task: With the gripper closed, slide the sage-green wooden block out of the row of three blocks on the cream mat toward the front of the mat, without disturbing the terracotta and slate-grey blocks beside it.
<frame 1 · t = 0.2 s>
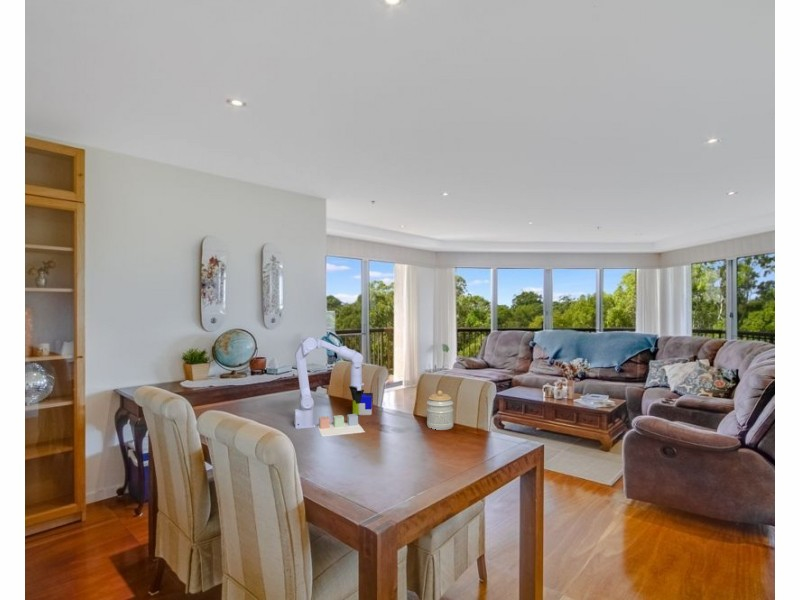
hand: (356, 401, 220), 10 cm above the table, tool pointing down, fingers open, 7 cm apart
puzzle toy: (363, 413, 235), on the table
jar: (440, 426, 209), on the table
terracotta block: (324, 427, 208), resting on mat
sage block: (338, 425, 210), resting on mat
slate block: (352, 424, 213), resting on mat
mat: (340, 429, 206), on the table
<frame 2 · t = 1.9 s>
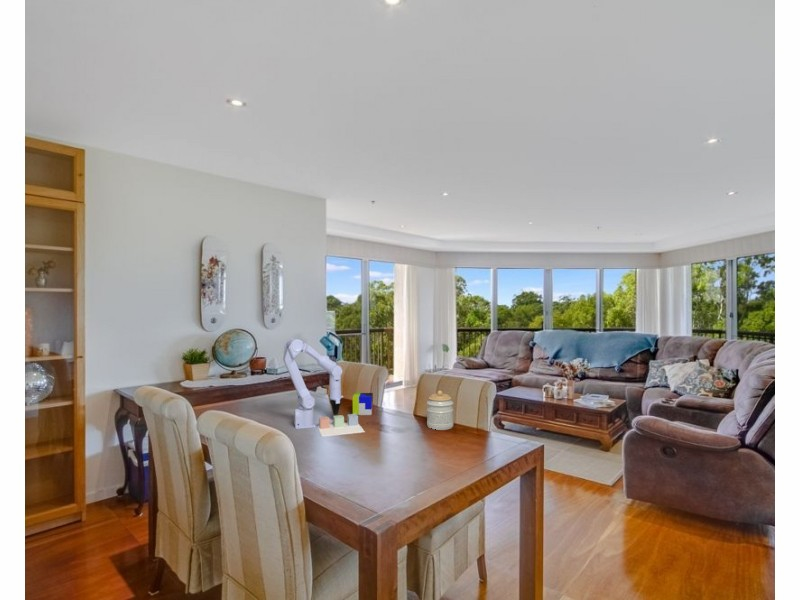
hand: (335, 414, 219), 4 cm above the table, tool pointing down, fingers closed
nothing on the table moved.
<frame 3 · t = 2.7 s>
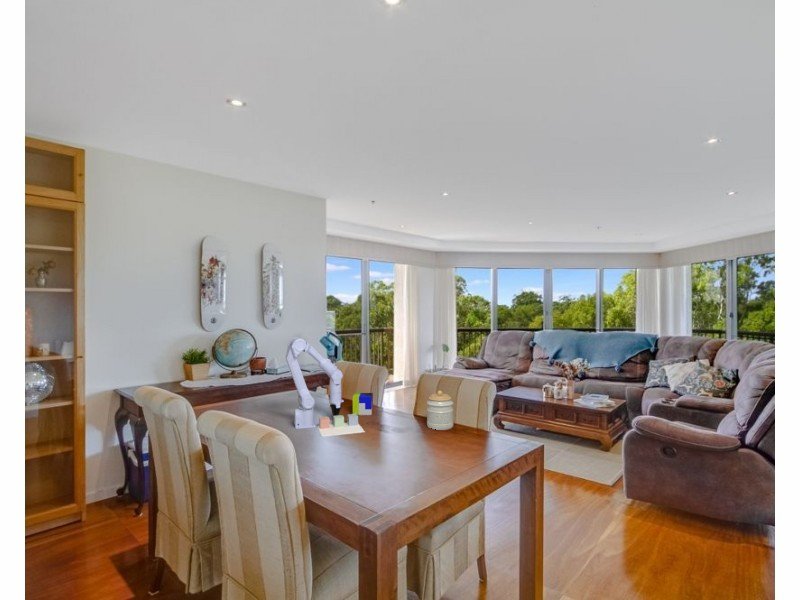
hand: (335, 418, 218), 2 cm above the table, tool pointing down, fingers closed
nothing on the table moved.
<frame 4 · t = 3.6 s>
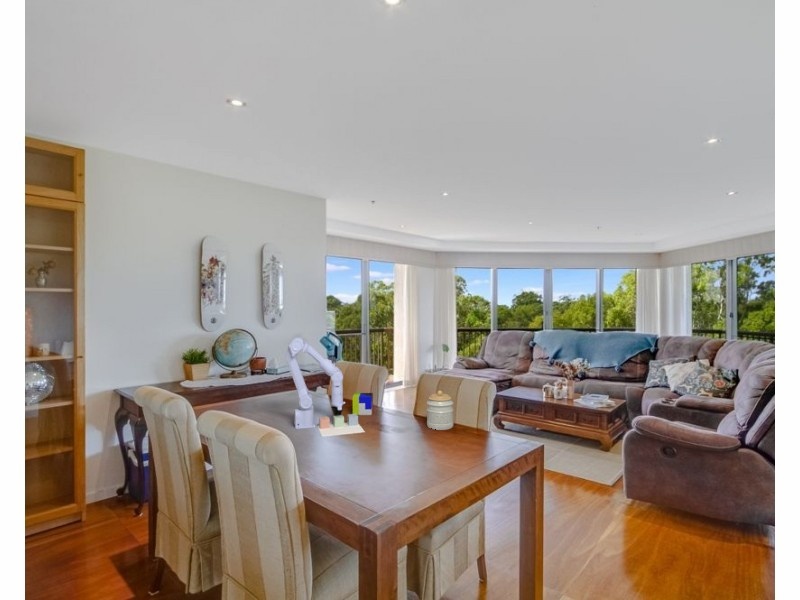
hand: (337, 421, 214), 2 cm above the table, tool pointing down, fingers closed
sage block: (338, 425, 210), resting on mat, touching gripper
everything else where it was.
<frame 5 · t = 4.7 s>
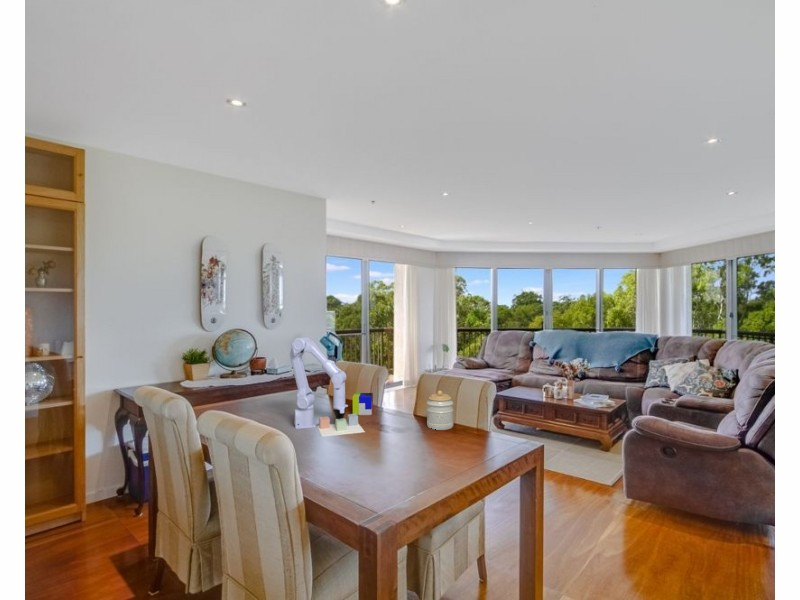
hand: (339, 424, 208), 2 cm above the table, tool pointing down, fingers closed
sage block: (341, 429, 205), resting on mat, touching gripper
everything else where it was.
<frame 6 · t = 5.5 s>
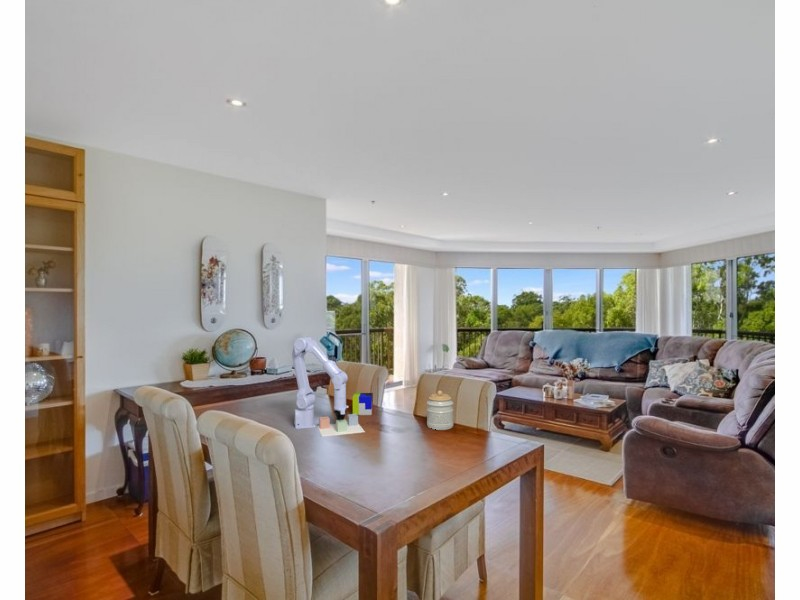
hand: (340, 425, 206), 2 cm above the table, tool pointing down, fingers closed
sage block: (341, 430, 203), resting on mat, touching gripper
everything else where it was.
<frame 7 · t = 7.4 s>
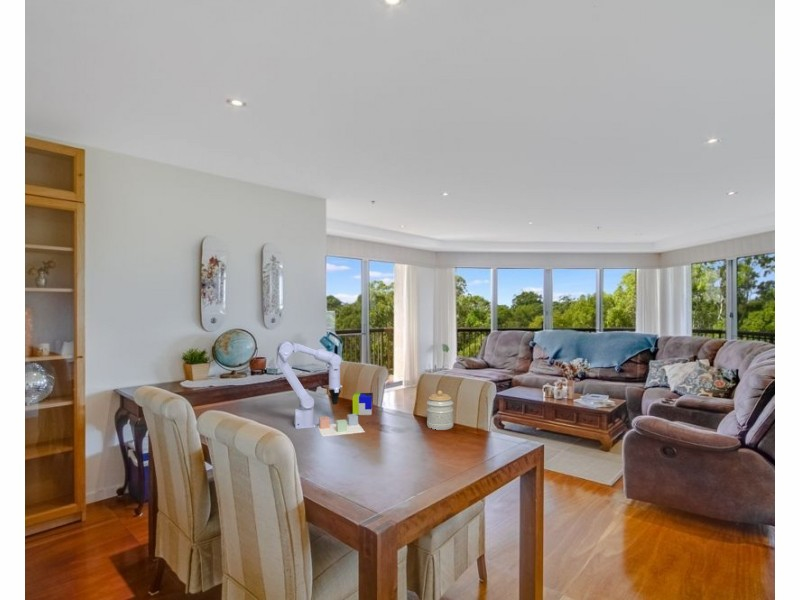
hand: (334, 404, 217), 9 cm above the table, tool pointing down, fingers closed
sage block: (341, 430, 203), resting on mat
everything else where it was.
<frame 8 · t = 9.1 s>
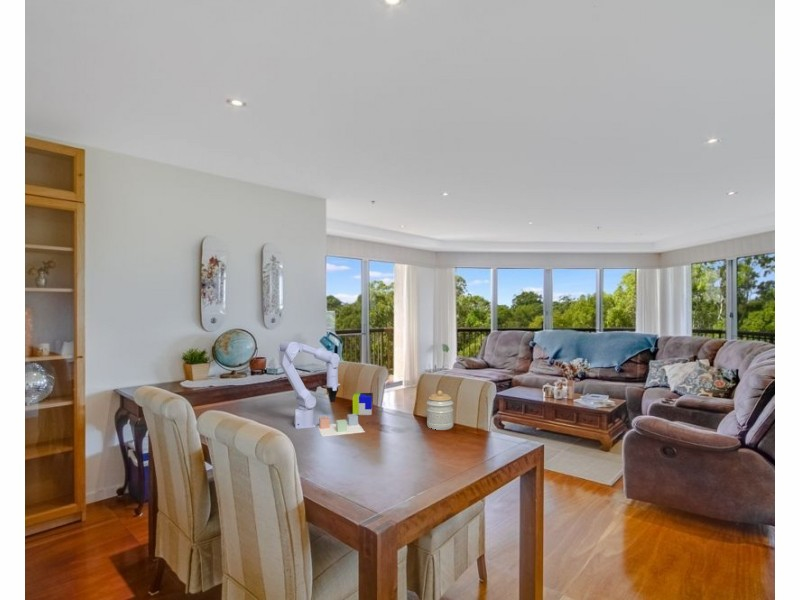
hand: (332, 401, 221), 9 cm above the table, tool pointing down, fingers closed
nothing on the table moved.
at the end: sage block 0.4 cm from the target spot, resting on mat; terracotta block moved 0.0 cm from its start; slate block moved 0.0 cm from its start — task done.
